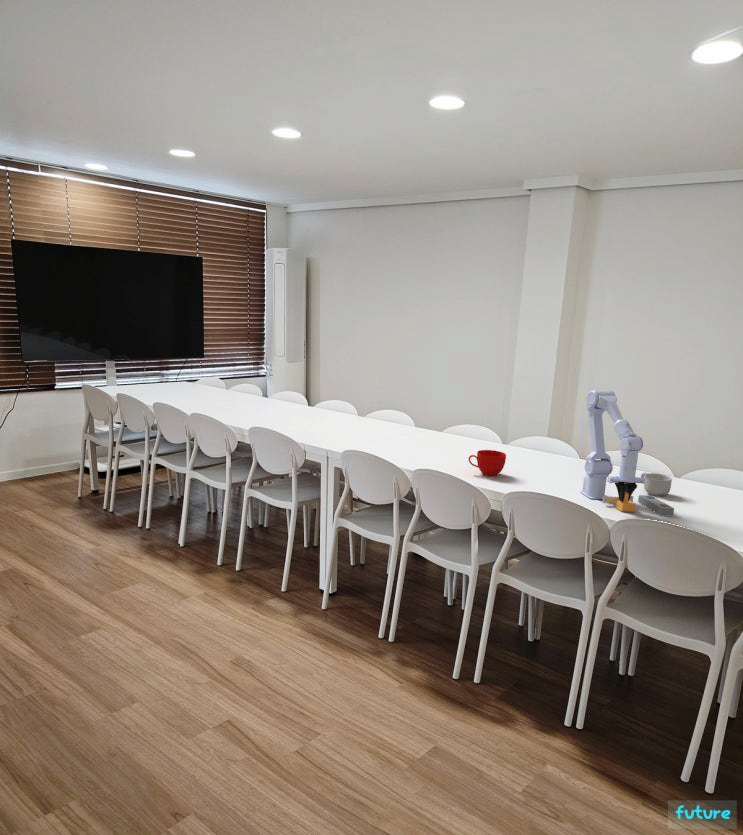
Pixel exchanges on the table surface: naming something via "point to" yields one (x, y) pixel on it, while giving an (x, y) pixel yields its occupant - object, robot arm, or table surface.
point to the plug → (626, 504)
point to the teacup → (657, 483)
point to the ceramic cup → (489, 462)
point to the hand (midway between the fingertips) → (623, 500)
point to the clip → (613, 499)
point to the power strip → (656, 505)
